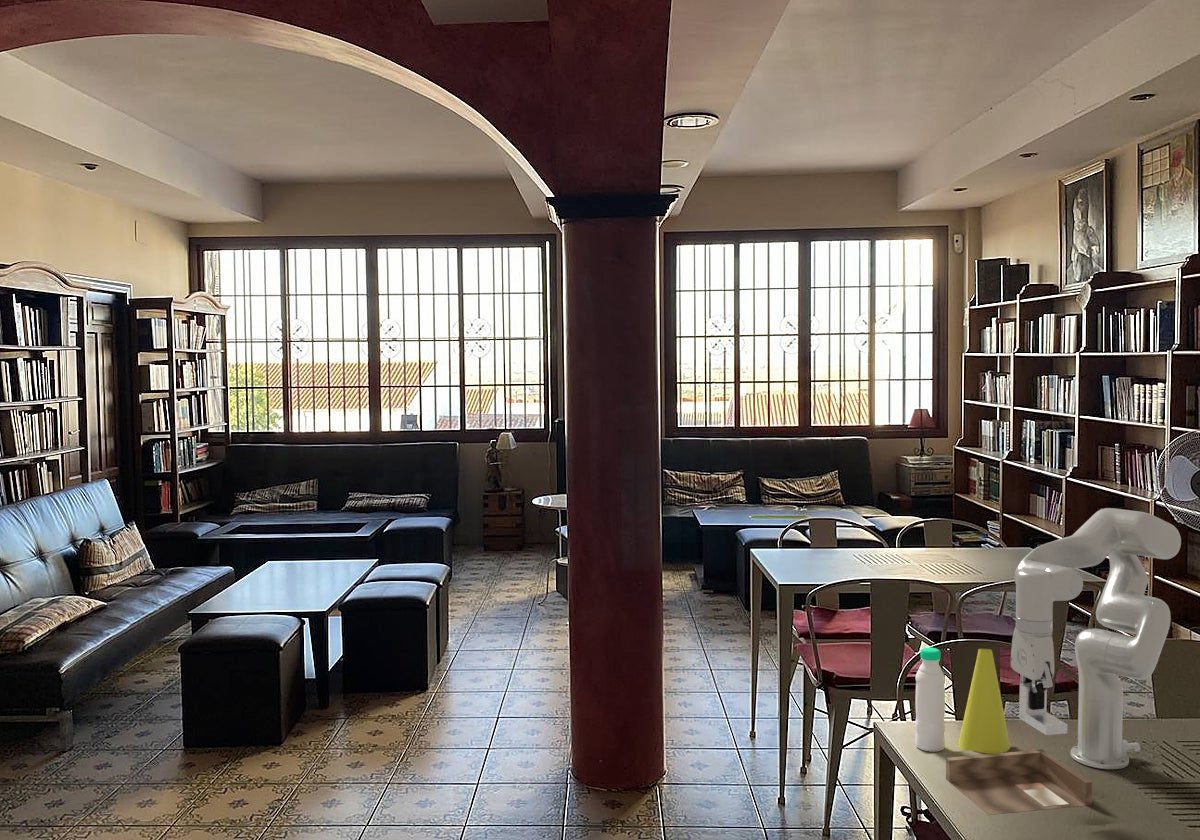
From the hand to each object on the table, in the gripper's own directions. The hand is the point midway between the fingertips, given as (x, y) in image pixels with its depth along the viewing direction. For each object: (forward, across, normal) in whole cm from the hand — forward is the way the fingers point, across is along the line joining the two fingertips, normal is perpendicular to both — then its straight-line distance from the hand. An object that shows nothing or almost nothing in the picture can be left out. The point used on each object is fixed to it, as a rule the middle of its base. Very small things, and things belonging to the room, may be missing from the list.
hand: (1032, 705), depth 223 cm
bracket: (+3, +4, 0) cm, 5 cm away
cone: (+20, -25, +3) cm, 32 cm away
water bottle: (+20, -28, -10) cm, 36 cm away
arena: (+20, +1, -4) cm, 20 cm away
